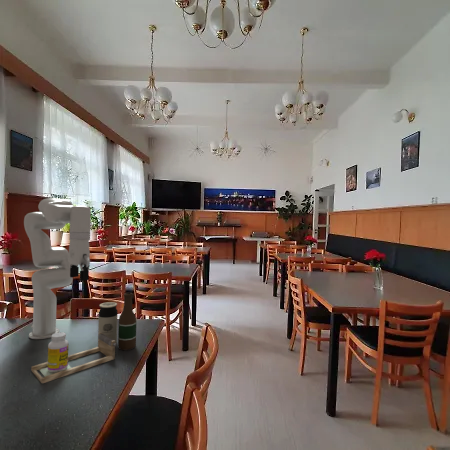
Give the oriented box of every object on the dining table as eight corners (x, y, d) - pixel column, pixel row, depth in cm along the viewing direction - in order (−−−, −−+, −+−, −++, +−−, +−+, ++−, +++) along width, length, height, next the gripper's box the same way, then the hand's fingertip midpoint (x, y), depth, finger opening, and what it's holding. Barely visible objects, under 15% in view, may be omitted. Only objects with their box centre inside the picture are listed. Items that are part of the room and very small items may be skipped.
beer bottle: (120, 343, 136) (121, 291, 136) (137, 343, 137) (139, 291, 136) (115, 350, 128) (116, 295, 128) (133, 350, 129) (135, 295, 129)
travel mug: (101, 340, 139) (101, 302, 139) (118, 340, 140) (119, 301, 139) (95, 347, 131) (96, 306, 131) (114, 347, 132) (115, 306, 131)
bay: (43, 385, 100) (44, 363, 100) (31, 370, 110) (31, 350, 110) (117, 359, 120) (118, 341, 120) (102, 349, 129) (102, 332, 129)
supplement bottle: (58, 374, 107) (59, 339, 107) (43, 372, 108) (43, 337, 108) (72, 365, 113) (72, 332, 113) (56, 363, 115) (57, 330, 115)
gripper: (62, 235, 123) (61, 276, 123) (79, 237, 111) (78, 283, 112) (80, 235, 129) (79, 274, 129) (98, 237, 117) (97, 280, 117)
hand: (79, 278), depth 120 cm, fingers open, 9 cm apart
